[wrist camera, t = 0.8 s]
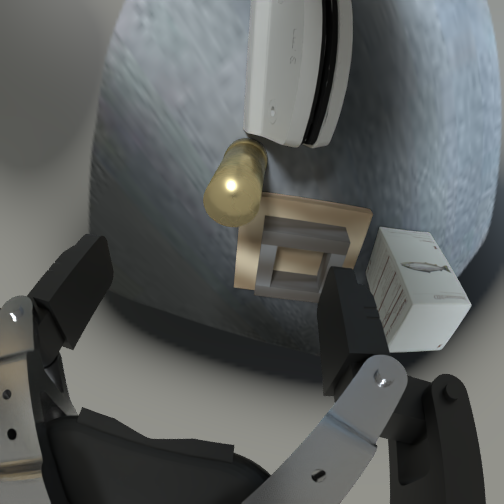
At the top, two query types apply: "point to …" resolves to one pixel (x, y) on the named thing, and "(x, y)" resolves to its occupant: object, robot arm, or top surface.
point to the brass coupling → (237, 184)
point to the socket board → (292, 254)
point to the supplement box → (414, 291)
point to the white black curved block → (297, 69)
